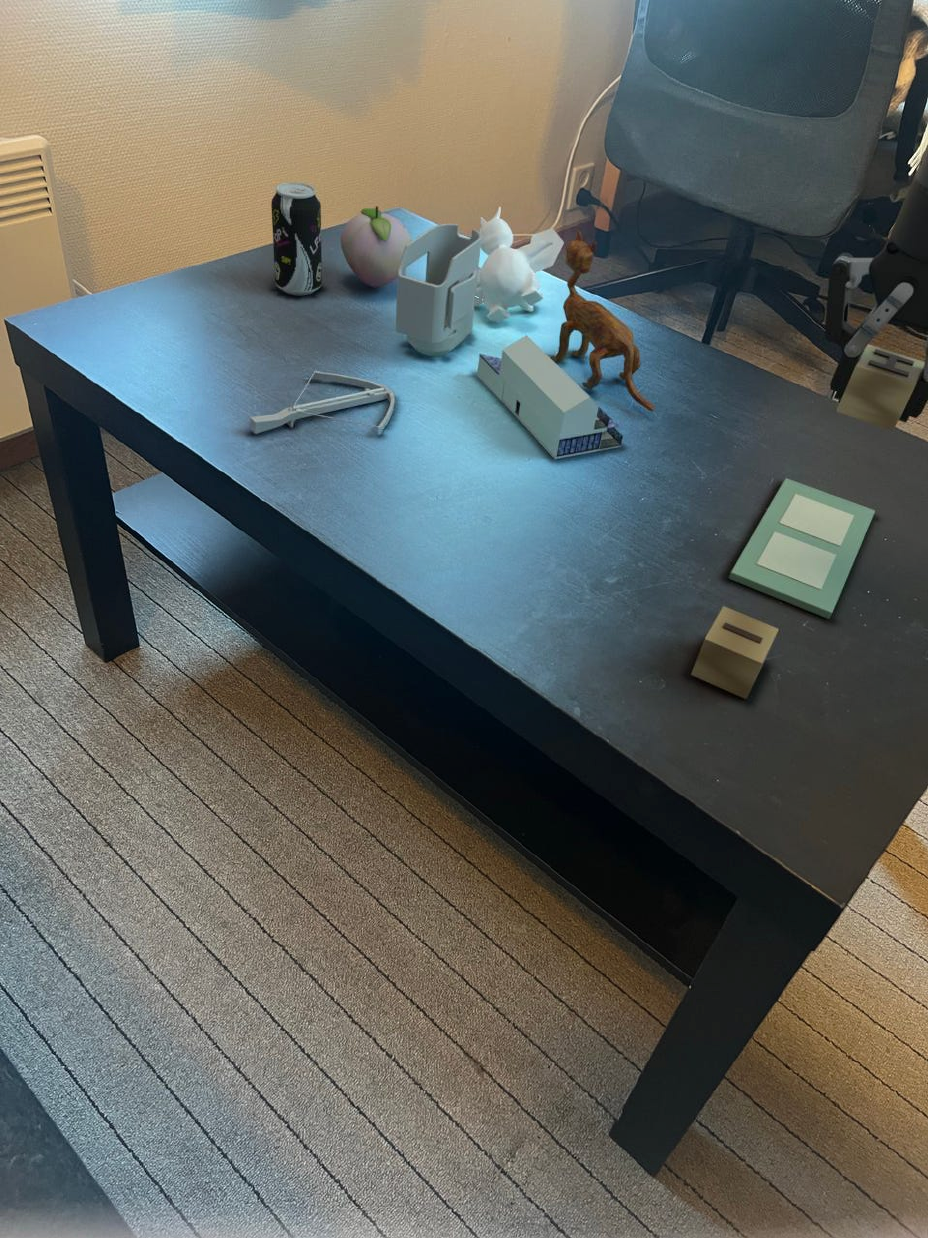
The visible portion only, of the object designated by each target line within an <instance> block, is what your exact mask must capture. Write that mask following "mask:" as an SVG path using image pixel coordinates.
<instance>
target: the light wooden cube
mask: <svg viewBox="0 0 928 1238" xmlns="http://www.w3.org/2000/svg"><path fill="white" fill-rule="evenodd" d="M924 367H925V361H923V360H919V359H916V358H914V357H910V356H907V355H903V354H900V353H897V352H895V351H891V350H889V349H886V348H882V347H879V346H875V345H872V344H870V343H869V344H868V345H867V346H866V347H865V348H864V351H863V353H862V355H861V357H860V359H859V361H858V363H857V365H856V367H855V369H854V371H853V373H852V376H851V378H850V380H849V383H848V385H847V387H846V390H845V392H844V394H843V396H842V399H841V401H840V400H839V404H838V406H837V408H836V412H837V413H839V414H843V415H846V416H849V417H852V418H854V419H857V420H860V421H864V422H867V423H868V424H871V425H875V426H878V427H881V428H884V429H886V430H889V431H894V430H895V428H896V426H897V424H898V422H899V418H900V416H901V414H902V412H903V410H904V408H905V406H906V404H907V402H908V400H909V398H910V396H911V394H912V392H913V390H914V388H915V386H916V383H917V381H918V378H919V376H920V373H921V371H922V369H924Z"/></svg>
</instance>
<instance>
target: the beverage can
mask: <svg viewBox="0 0 928 1238" xmlns="http://www.w3.org/2000/svg"><path fill="white" fill-rule="evenodd" d="M270 204H271V208H270V209H271V222H272V223H271V226H272V228H271V229H272V245H273V247H272V248H273V265H274V268H273V269H274V283H275V285H276V287H277V288H279V290H282V291H283V292H284V293H286V294H287V295H292V296H301V297H302V296H308V295H312V294H313V293H314V292H316V291H318V290H319V289H320V288H321V287H322V284H323V280H322V279H323V269H322V268H323V266H322V265H323V264H322V260H323V259H322V204H321V201H320V199H319V198H318V196H317V194H316V188H315V187H314V186H312V185H311V184H309V183H303V182H295V181H293V182H291V181H290V182H283V183H279V184H278V185H276V187H275V194H274V195H273V197H272V199H271V203H270Z"/></svg>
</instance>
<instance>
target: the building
mask: <svg viewBox="0 0 928 1238" xmlns="http://www.w3.org/2000/svg"><path fill="white" fill-rule="evenodd" d="M478 356H479V357H478V364H477V372H476V376H477V377H478V378H479V380H480V381H482V383H483V384H484V385H485V386H486V387H487V388H488V389H489V390H490V391H491V392H492V393H493V394H494V395H495V396H496V397H497V398H498V399H499V400H500V402H502V404H504V406H506V407H507V409H508V410H509V411H510V412H511V413H512V414H513V415H514V416H515V417H516V418H517V419H518V421H519V422H520V423H521V424H522V425H523V426H524V427H525V429H526V430H527V431H528V432H529V433H530V434H532V436H533V437H534V438H535V440H537V442H538V443H539V444H540V445H541V446H542V448H544V449H545V451H547V453H548V454H549V455H550V456H551V457H552V458H553V459H554V460H559V459H564V458H570V457H575V456H579V455H586V454H591V453H596V452H602V451H606V450H613V449H617V448H621V447H622V442H623V438H624V435H622V434H621V433H620V432H619V431H618V430H617V428H618V427H620V425H619V424H618V423H617V422H616V421H615V420H614V419H613V418H612V417H611V416H610V415H609V414H608V413H606V412H605V410H603V409H602V407H601V406H599V405H598V404H597V402H595V401H594V399H593V398H592V397H591V396H590V395H589V394H588V393H587V392H586V391H585V390H584V389H583V388H582V387H581V386H579V384H578V383H577V382H576V381H574V380H573V379H572V378H571V376H570V375H568V374H567V373H566V371H564V370H563V369H562V368H561V367H560V366H559V365H558V364H557V362H555V361H553V360H552V359H551V358H550V357H551V356H549V355H548V354H547V353H546V352H544V351H543V350H542V349H541V347H539V345H538V344H536V343H535V341H533V340H532V339H531V338H530V336H528V335H524V336H522V337H521V338H519V339H517V340H516V341H514V342H513V343H511V344H509V345H508V346H506V347H504V348H503V349H502V352H501V358H500V357H497V356H492V355H487V354H484V353H479V354H478Z"/></svg>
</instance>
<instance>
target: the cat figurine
mask: <svg viewBox="0 0 928 1238" xmlns="http://www.w3.org/2000/svg"><path fill="white" fill-rule="evenodd" d="M597 245H598V241H597V240H595V241H593V242H592V243H590V244H587V243H586V242H584V241H583V236H582V233H581V231H580V230H578V231H577V232H576V237H575V239H574V240H572V241H569V242H568V243H567V244H566V247H565V264H566V266H567V267H568V268H569V269H571V270H572V271H573V274H571V275H570V277H569V278H568V280H567V283H566V286H567V288H568V291H569V295H568V296H567V297H566V299H565V300H564V302H563V306H562V308H563V312H564V316H565V320H566V321H564V322H562V323H561V326H560V331H559V336H558V337H559V338H558V339H559V341H558V350H557V353H556V354H555V355H551V356H549V357H550V358H551V359H552V360H553V361H554V362H555V363H560V362H564V361H565V360H566V358H567V356H568V352H569V347H570V338H571V335H572V333H573V332H575V331H577V332H579V333H580V334H581V342H580V346H579V348H578V349H577V350H572V351H571V355H572V356H574V357H577V358H579V357H584V356H585V355H586V354H587V353H588V350H589V347H590V344H591V345H592V346H593V348H594V349H593V350H591V351H590V353H589V356H588V365H589V367H590V370H591V373H592V374H591V376H589V377H588V379H587V380H586V381H585V382H584V381H583V382H581V385H582V387H584V388H586V389H587V390H590V391H592V390H593V389H594V388H595V387H597V386H598V385H599V384H600V383H601V382H602V379H603V374H602V369H601V360H604V359H611V358H615V357H619V356H622V355H623V358H624V360H623V361H624V362H623V371H621V372H619V373H618V376H619V378H620V379H621V380H622V381H624V384H625V387H626V390H627V392H628V394H629V395H630V397H631V398H632V399H633V400H634V401H635V402H637V403H638V404H639V405H640V406H642V407H644V408H645V409H646V410H648V411H651V412H655V410H656V407H655V406H654V405H653V403H651V402H650V401H649V400H647V399H646V398H645V397H643V396H642V395H641V393H640V392H639V391H638V389H637V388H636V386H635V383H634V380H633V375H634V374H635V373H636V372H637V371H638V370H639V369H640V367H641V365H642V362H641V355H640V348H639V347H638V346H637V345H636V344H635V337H634V333H633V331H632V329H631V328H630V327H629V326H628V325H627V324H625V323H624V322H623V321H622V320H621V319H619V318H618V317H617V316H616V315H615V314H613V313H612V312H611V311H610V310H609V309H607V307H606V306H604V305H603V304H602V303H599V302H598V301H594V300H587V299H586V298H584V297H583V296H582V295H581V294H580V293H579V292H578V291H577V289H576V283H577V282H578V280H579V278H580V276H581V275H583V274H588V273H589V272H590V270H591V267H592V264H593V257H594V253H595V252H596V249H597Z"/></svg>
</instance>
